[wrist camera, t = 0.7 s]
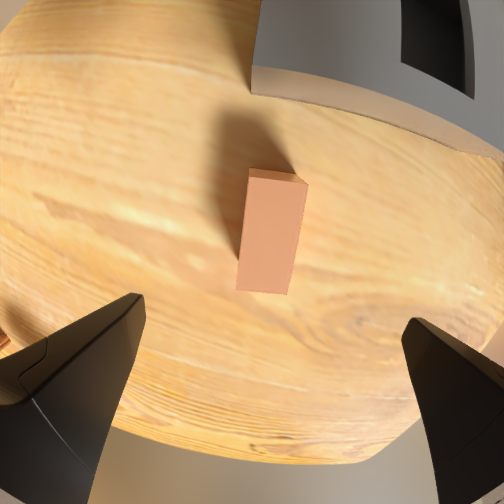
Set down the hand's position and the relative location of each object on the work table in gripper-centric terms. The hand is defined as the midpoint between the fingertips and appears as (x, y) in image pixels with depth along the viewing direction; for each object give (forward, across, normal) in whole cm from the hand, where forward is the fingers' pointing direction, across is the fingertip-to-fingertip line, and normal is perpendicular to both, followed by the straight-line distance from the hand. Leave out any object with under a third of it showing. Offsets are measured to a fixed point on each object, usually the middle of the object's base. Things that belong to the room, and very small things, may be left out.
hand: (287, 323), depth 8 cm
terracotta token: (+11, 0, 0) cm, 11 cm away
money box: (+11, -6, -14) cm, 19 cm away
